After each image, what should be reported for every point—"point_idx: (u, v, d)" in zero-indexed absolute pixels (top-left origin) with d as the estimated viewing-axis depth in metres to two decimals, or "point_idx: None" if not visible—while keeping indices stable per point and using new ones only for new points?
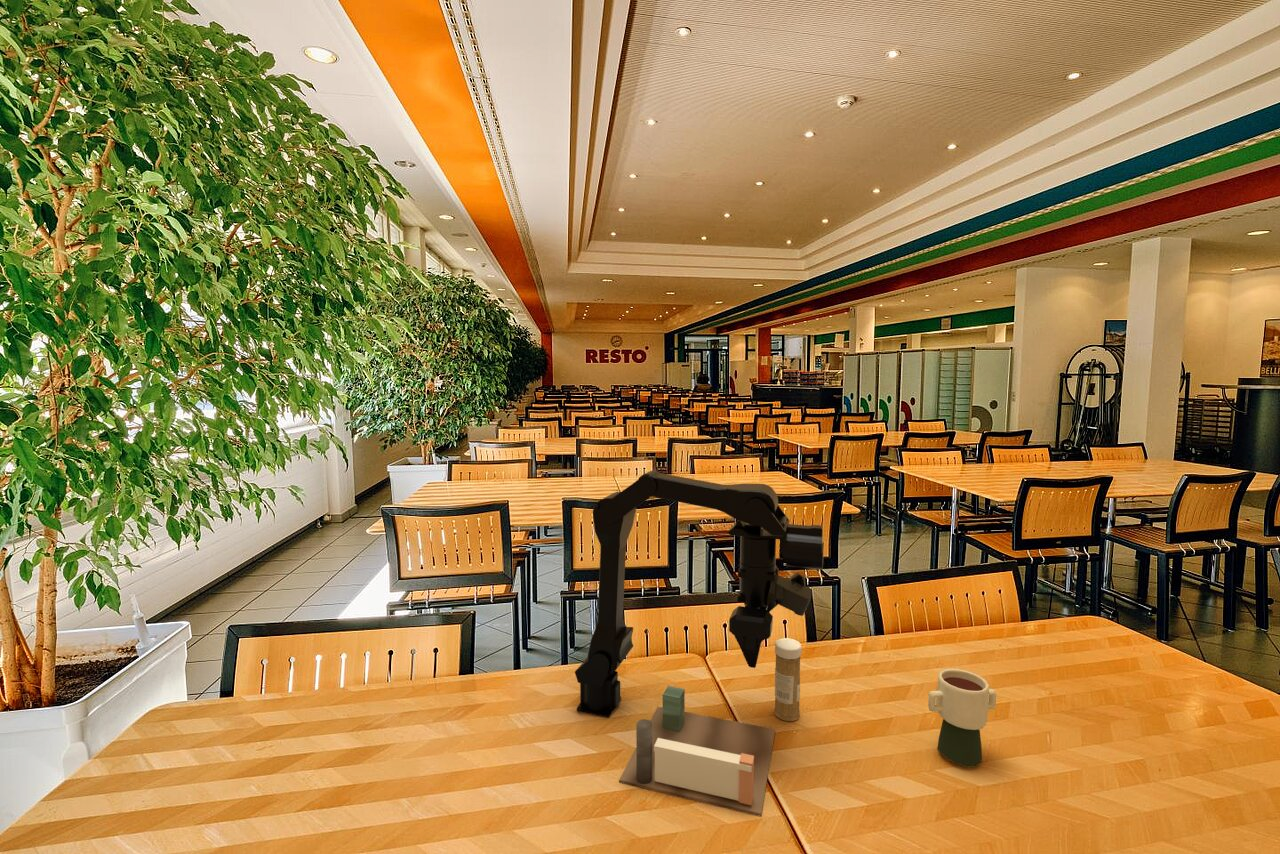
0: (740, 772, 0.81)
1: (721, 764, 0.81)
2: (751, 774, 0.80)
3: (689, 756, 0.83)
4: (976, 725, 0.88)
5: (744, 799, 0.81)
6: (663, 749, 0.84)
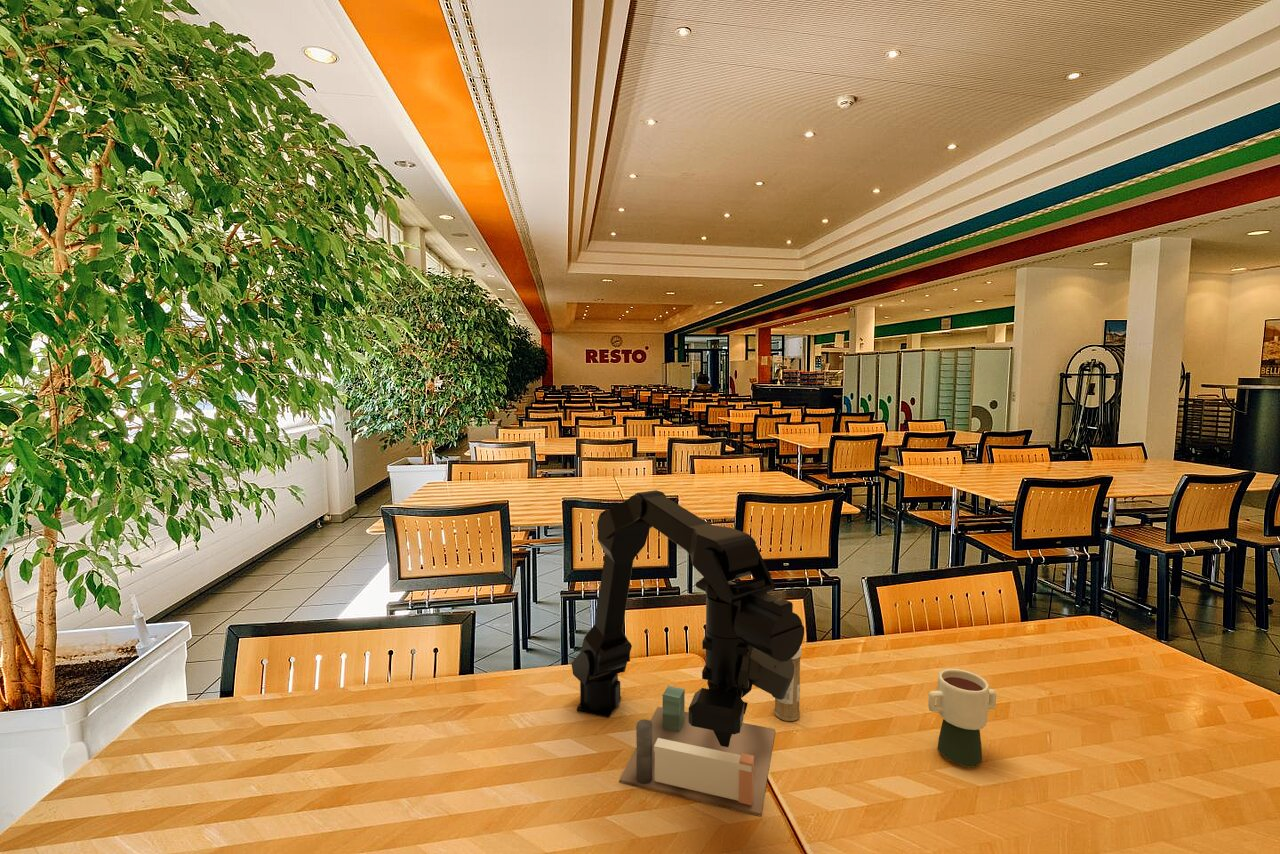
0: (740, 772, 0.81)
1: (721, 764, 0.81)
2: (751, 774, 0.80)
3: (689, 756, 0.83)
4: (976, 726, 0.88)
5: (744, 799, 0.81)
6: (663, 749, 0.84)
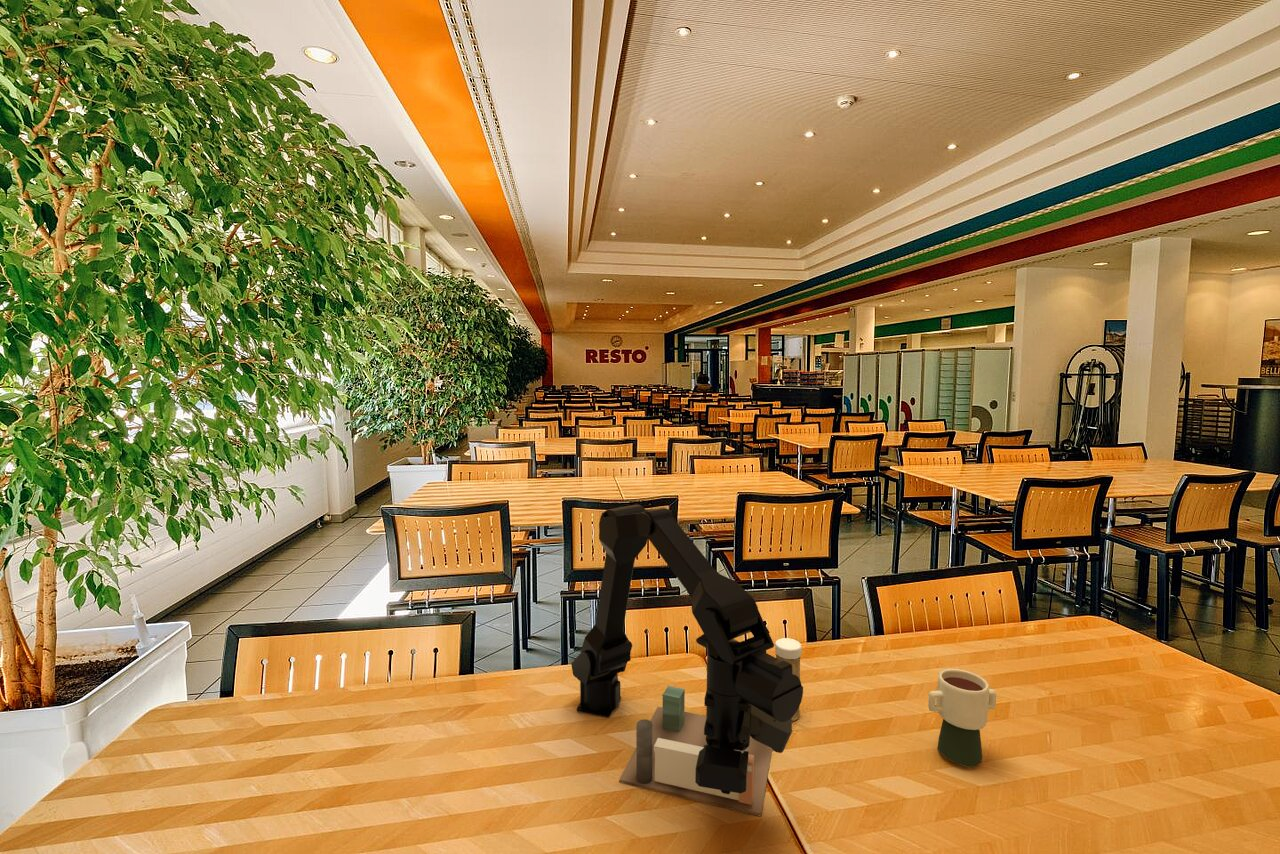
0: None
1: None
2: (751, 774, 0.80)
3: (689, 756, 0.83)
4: (976, 726, 0.88)
5: (744, 799, 0.81)
6: (663, 749, 0.84)
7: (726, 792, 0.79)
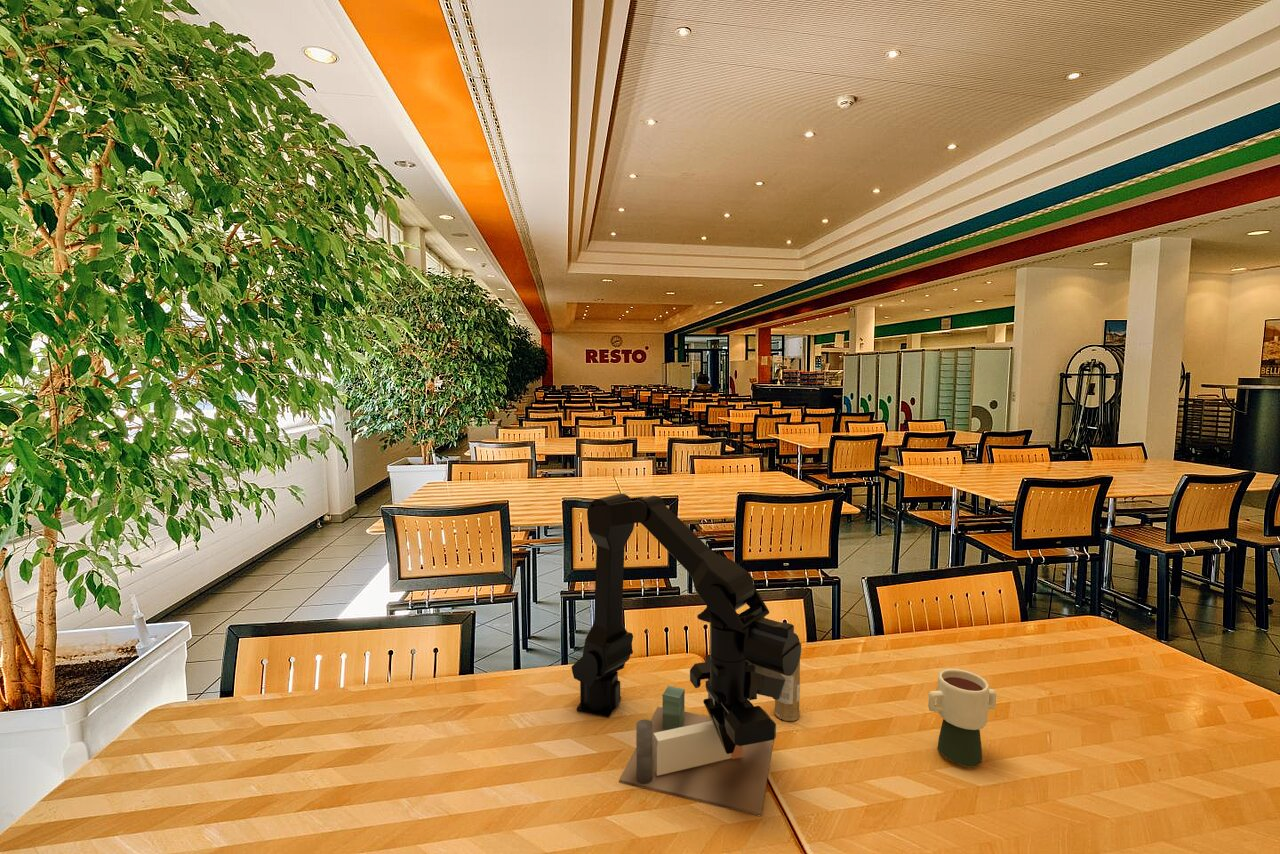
0: None
1: None
2: None
3: (691, 736, 0.87)
4: (976, 725, 0.88)
5: (737, 754, 0.90)
6: (667, 740, 0.86)
7: (730, 751, 0.87)
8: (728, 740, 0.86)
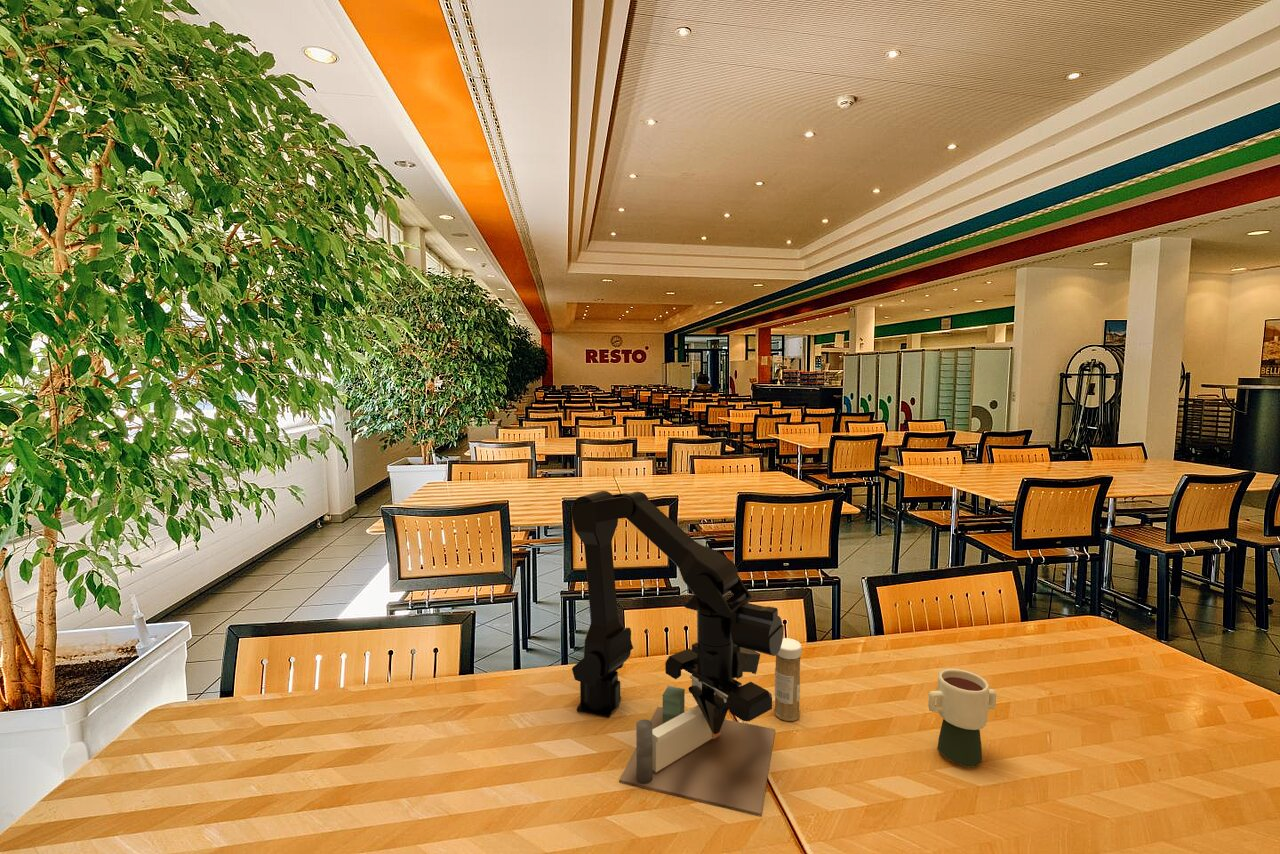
0: None
1: (703, 715, 0.93)
2: None
3: (683, 726, 0.90)
4: (976, 726, 0.88)
5: None
6: (664, 735, 0.87)
7: (718, 731, 0.92)
8: (718, 721, 0.91)
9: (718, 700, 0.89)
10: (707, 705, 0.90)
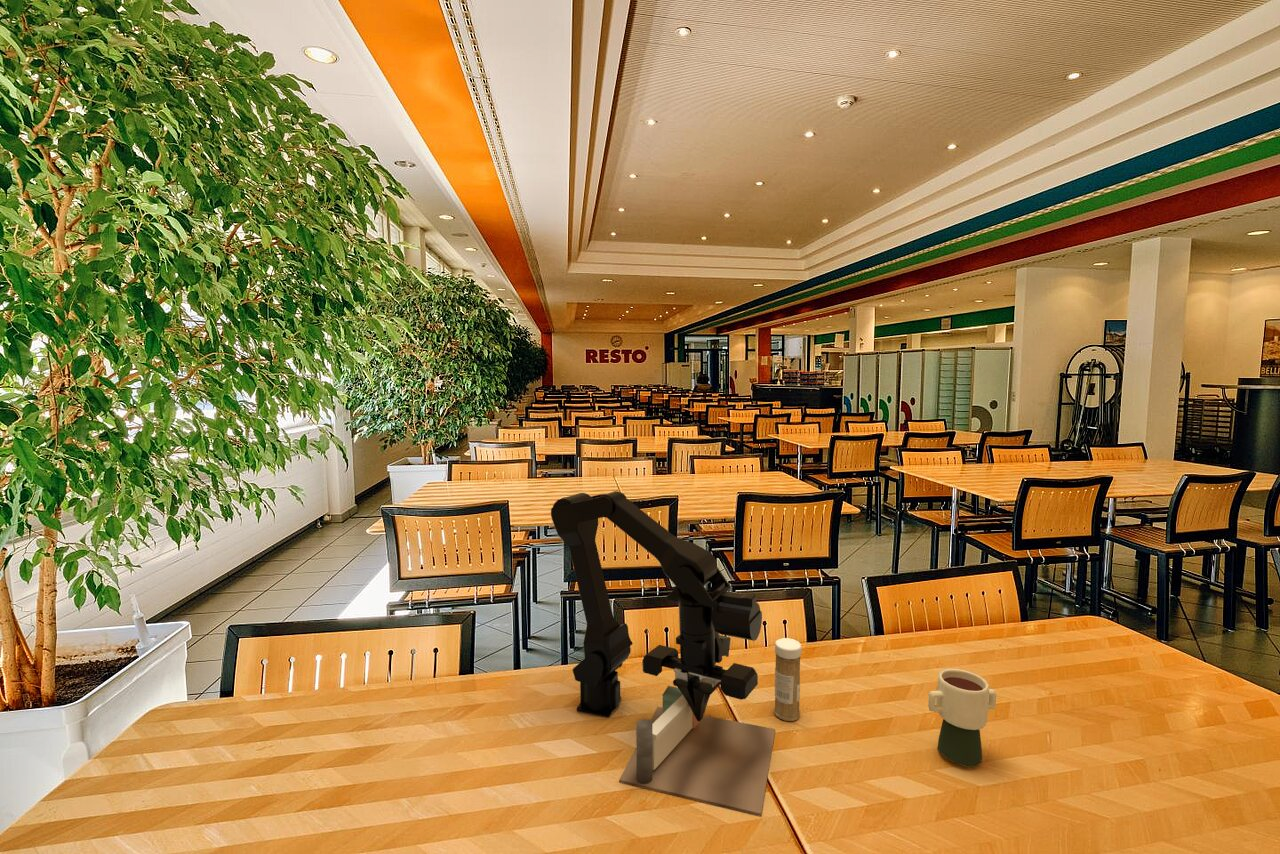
0: None
1: (687, 706, 0.95)
2: None
3: (673, 720, 0.92)
4: (976, 726, 0.88)
5: (696, 722, 0.99)
6: (661, 731, 0.88)
7: (701, 718, 0.95)
8: (703, 707, 0.94)
9: (705, 686, 0.93)
10: (695, 693, 0.92)
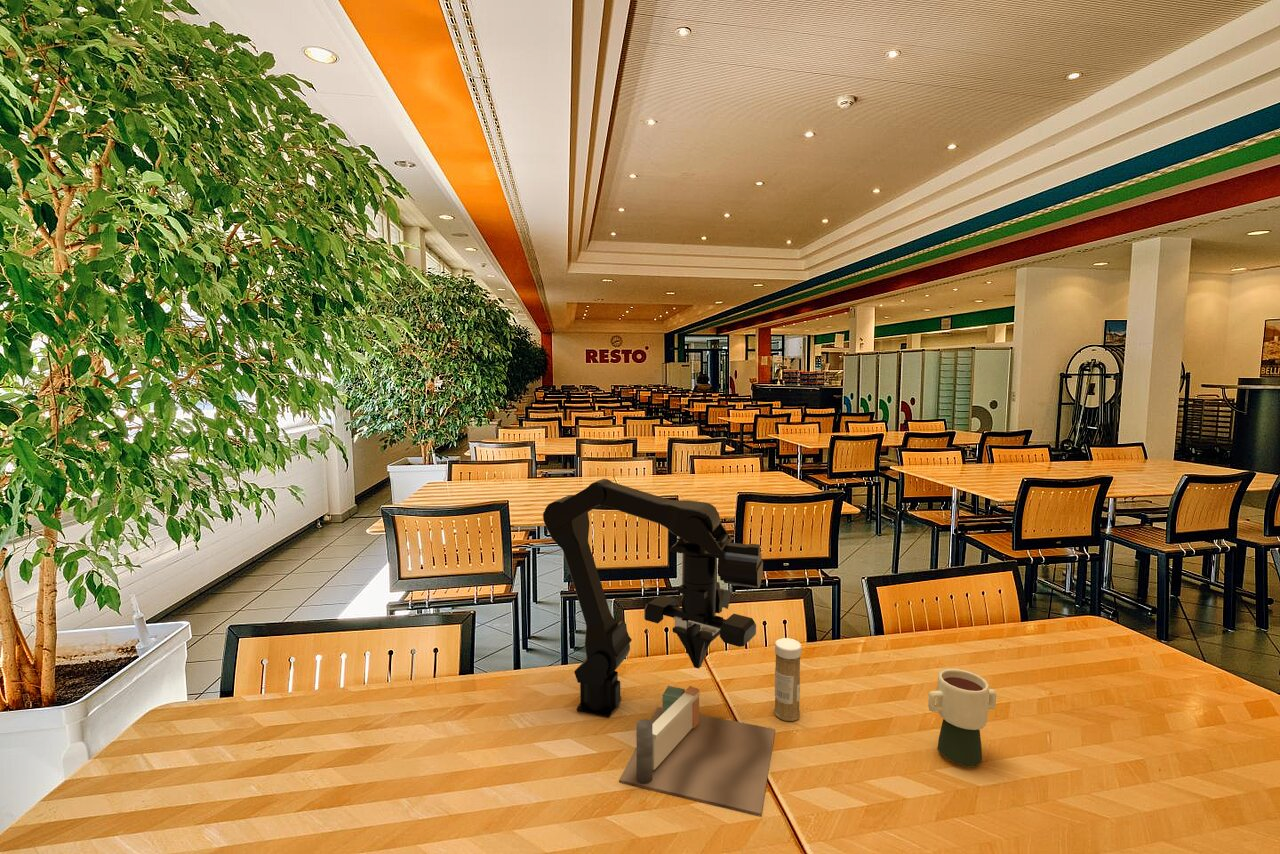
0: (694, 702, 0.98)
1: (687, 706, 0.95)
2: (698, 698, 0.99)
3: (673, 720, 0.92)
4: (976, 726, 0.88)
5: (696, 722, 0.99)
6: (661, 731, 0.88)
7: (700, 666, 0.98)
8: (702, 655, 0.97)
9: (706, 635, 0.95)
10: (696, 641, 0.95)
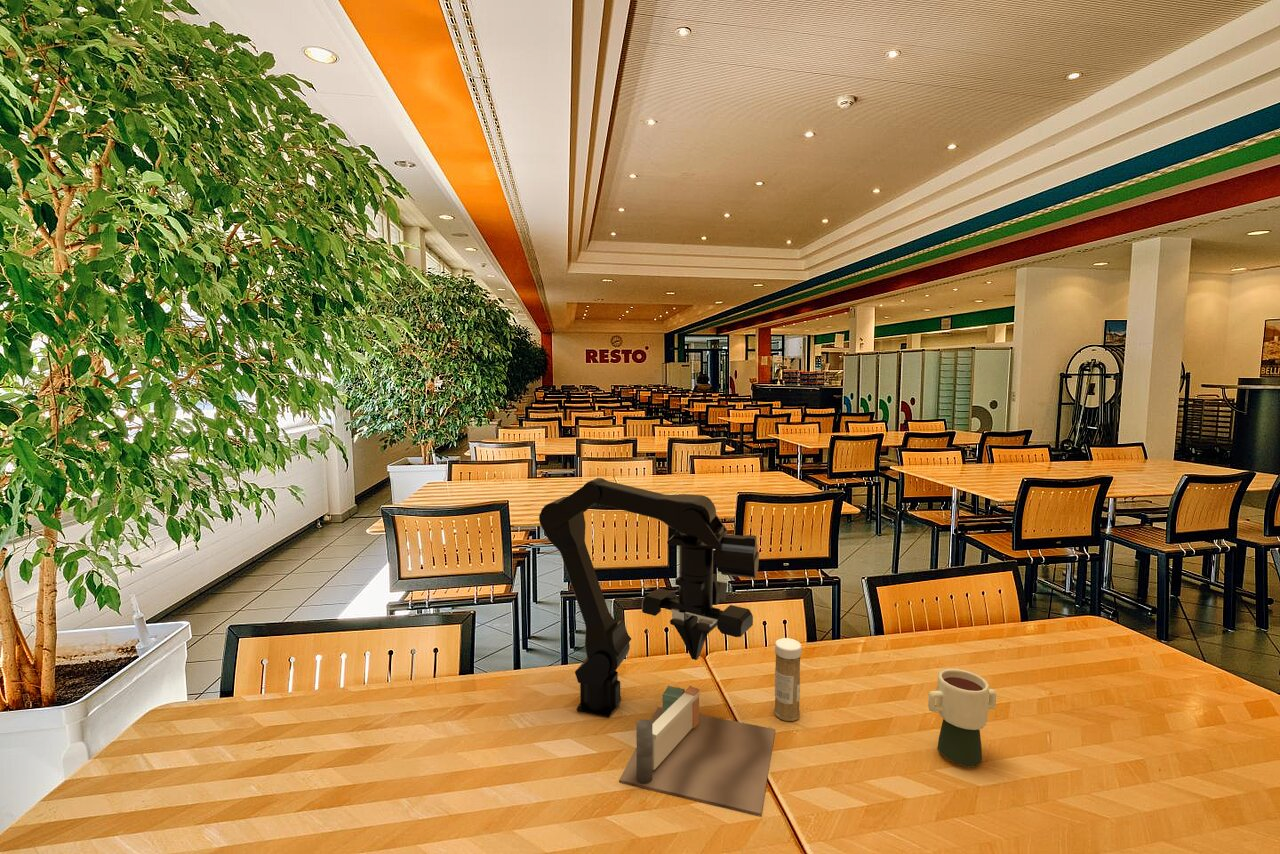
0: (694, 702, 0.98)
1: (687, 706, 0.95)
2: (698, 698, 0.99)
3: (673, 720, 0.92)
4: (976, 726, 0.88)
5: (696, 722, 0.99)
6: (661, 731, 0.88)
7: (698, 657, 0.99)
8: (700, 647, 0.98)
9: (703, 626, 0.96)
10: (693, 632, 0.96)
